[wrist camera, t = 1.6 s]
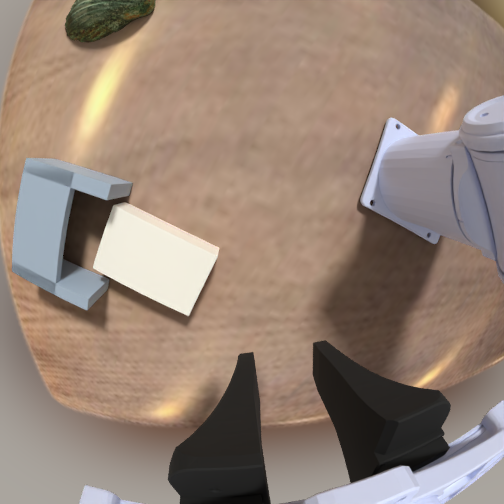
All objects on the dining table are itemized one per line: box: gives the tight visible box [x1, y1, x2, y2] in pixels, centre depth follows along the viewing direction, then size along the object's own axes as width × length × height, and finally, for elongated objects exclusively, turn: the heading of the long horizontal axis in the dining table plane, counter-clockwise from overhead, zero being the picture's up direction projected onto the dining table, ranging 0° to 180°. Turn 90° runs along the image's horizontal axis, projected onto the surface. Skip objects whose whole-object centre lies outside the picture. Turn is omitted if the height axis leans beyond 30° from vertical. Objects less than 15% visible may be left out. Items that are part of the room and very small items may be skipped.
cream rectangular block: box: [93, 202, 219, 316], centre depth 19 cm, size 8×5×3 cm, turn 62°
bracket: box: [12, 158, 133, 310], centre depth 17 cm, size 8×9×4 cm
